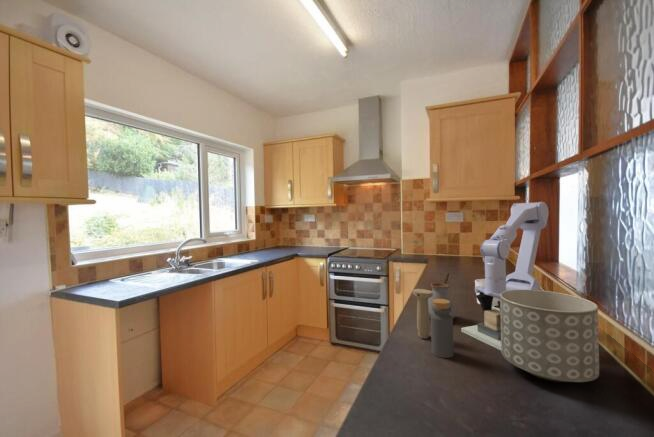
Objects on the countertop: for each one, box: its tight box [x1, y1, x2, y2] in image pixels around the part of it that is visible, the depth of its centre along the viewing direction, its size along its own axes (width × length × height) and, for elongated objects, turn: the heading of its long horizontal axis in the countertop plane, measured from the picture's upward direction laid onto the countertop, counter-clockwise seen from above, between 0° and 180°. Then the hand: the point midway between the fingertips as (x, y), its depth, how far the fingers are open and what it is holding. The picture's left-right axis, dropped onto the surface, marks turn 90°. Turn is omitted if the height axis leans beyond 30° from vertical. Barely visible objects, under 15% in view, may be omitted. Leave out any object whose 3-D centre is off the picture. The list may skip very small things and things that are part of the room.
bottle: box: [430, 299, 455, 359], centre depth 81 cm, size 6×6×15 cm
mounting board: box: [460, 306, 501, 351], centre depth 91 cm, size 13×16×7 cm
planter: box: [499, 289, 600, 383], centre depth 70 cm, size 19×19×18 cm
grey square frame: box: [476, 322, 501, 341], centre depth 91 cm, size 9×8×2 cm
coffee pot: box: [428, 272, 457, 320], centre depth 113 cm, size 21×12×15 cm, turn 144°
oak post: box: [483, 309, 501, 331], centre depth 91 cm, size 4×4×7 cm
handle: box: [411, 288, 433, 340], centre depth 92 cm, size 5×6×15 cm
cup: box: [474, 278, 500, 307], centre depth 125 cm, size 10×10×10 cm
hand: (496, 320), depth 91 cm, fingers open, 6 cm apart
